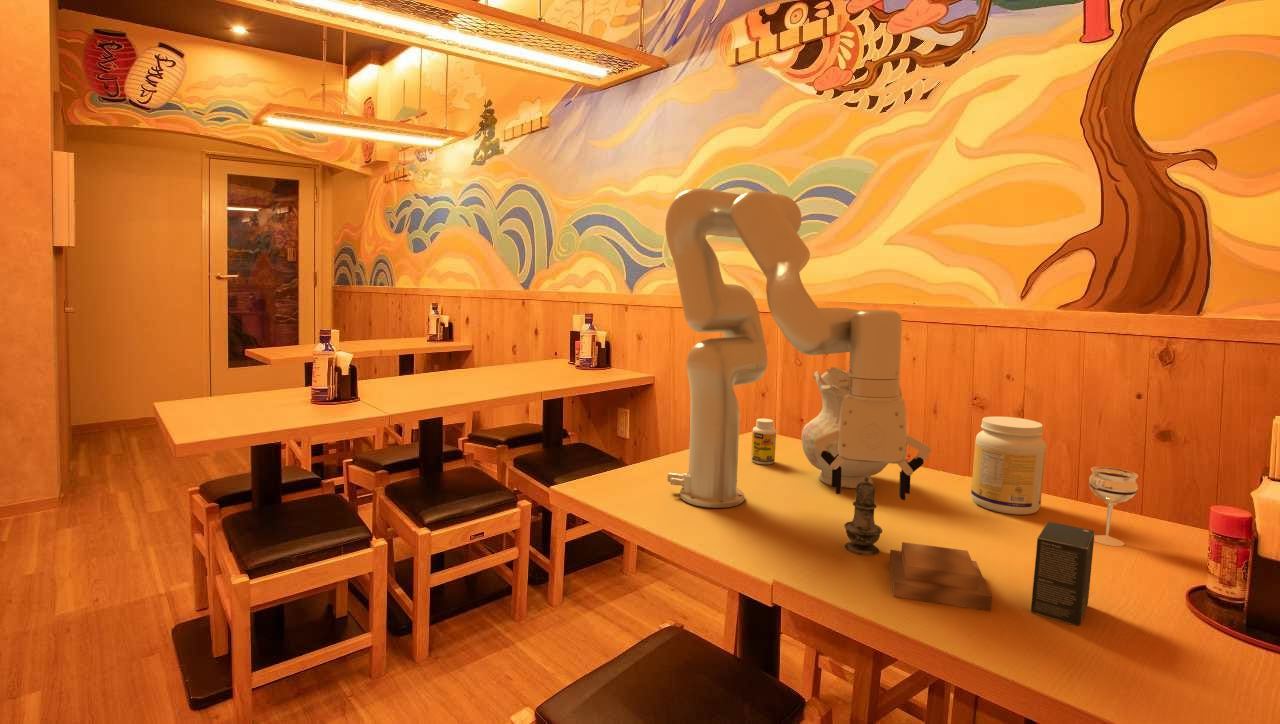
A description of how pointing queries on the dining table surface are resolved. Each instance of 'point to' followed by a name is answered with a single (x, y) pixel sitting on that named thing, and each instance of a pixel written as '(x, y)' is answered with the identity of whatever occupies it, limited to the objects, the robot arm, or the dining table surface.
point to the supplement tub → (1009, 465)
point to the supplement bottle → (763, 442)
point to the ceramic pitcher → (829, 423)
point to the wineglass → (1112, 494)
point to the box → (1062, 572)
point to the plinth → (938, 576)
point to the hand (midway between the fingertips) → (869, 494)
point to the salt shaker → (863, 522)
